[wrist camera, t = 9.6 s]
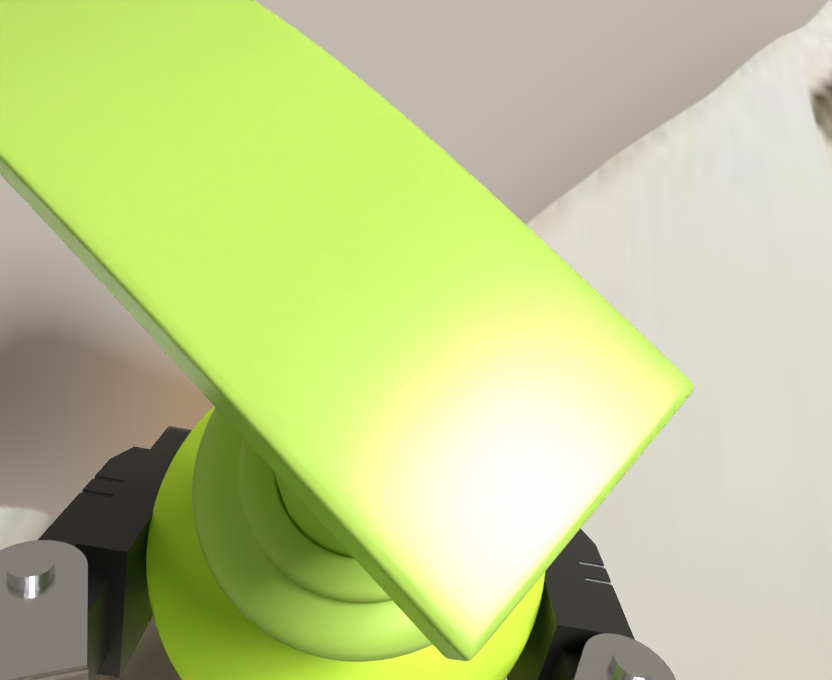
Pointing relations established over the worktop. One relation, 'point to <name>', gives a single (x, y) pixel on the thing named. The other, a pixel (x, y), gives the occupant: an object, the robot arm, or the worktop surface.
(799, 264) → the worktop surface
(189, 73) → the soap dispenser
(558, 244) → the worktop surface
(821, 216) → the worktop surface
